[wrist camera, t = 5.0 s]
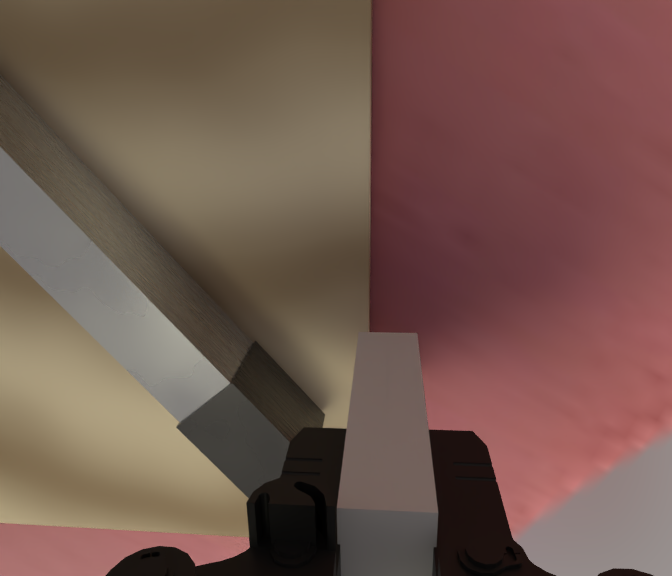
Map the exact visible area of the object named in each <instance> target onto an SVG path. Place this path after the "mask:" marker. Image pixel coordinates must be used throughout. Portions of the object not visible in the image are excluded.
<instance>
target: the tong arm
mask: <svg viewBox="0 0 672 576" xmlns="http://www.w3.org/2000/svg"><path fill="white" fill-rule="evenodd" d="M0 246H1V247H2V248H3V249H4V250H5V251H6V252H7V253H8V254H9V255H10V256H11V257H12V258H13V259H14V260H15V261H16V262H17V263H18V264H19V265H20V266H21V267H22V268H23V269H24V270H25V271H26V272H27V273H28V274H29V275H30V276H31V277H32V278H33V279H34V280H35V281H36V282H37V283H38V284H39V285H40V286H41V287H42V288H43V289H44V290H45V291H46V292H47V293H48V294H50V295H51V296H52V297H53V298H54V299H55V300H56V301H57V302H58V303H59V304H60V305H61V306H62V307H63V308H64V309H65V310H66V311H67V312H68V313H69V314H70V315H71V316H72V317H73V318H74V319H75V320H76V321H77V322H78V323H79V324H80V325H81V326H82V327H83V328H84V329H85V330H86V331H87V332H88V333H89V334H90V335H91V336H92V337H93V338H94V339H95V340H96V341H97V342H98V343H99V344H100V345H101V346H102V347H103V348H104V349H105V350H106V351H107V352H108V353H109V354H111V355H112V356H113V357H114V358H115V359H116V360H117V361H118V362H119V363H120V364H121V365H122V366H123V367H124V368H125V369H126V370H127V371H128V372H129V373H130V374H131V375H132V376H133V377H134V378H135V379H136V380H137V381H138V382H139V383H140V384H141V385H142V386H143V387H144V388H145V389H146V390H147V391H148V392H149V393H150V394H151V395H152V396H153V397H154V398H155V399H156V400H157V401H158V402H159V403H160V404H161V405H162V406H163V407H164V408H165V409H166V410H167V411H168V412H169V413H170V414H172V415H173V416H174V417H175V418H176V419H177V420H178V421H179V423H178V425H177V427H176V428H177V429H178V430H179V431H180V432H181V433H182V434H183V435H184V436H185V437H186V438H187V439H188V440H189V441H191V442H192V443H193V444H194V445H195V446H196V447H197V448H198V449H199V450H200V451H201V452H202V453H203V454H204V455H205V456H206V457H207V458H208V459H209V460H210V461H211V462H212V463H213V464H214V465H215V466H216V467H217V468H218V469H219V470H220V471H221V472H222V473H223V474H224V475H225V476H226V477H227V478H228V479H229V480H230V481H231V482H232V483H233V484H234V485H235V486H236V487H237V488H238V489H240V490H241V491H242V492H243V493H244V494H245V495H246V496H247V497H248V498H250V496H251V494H252V493H253V491H255V490H256V489H258V488H259V487H260V486H262V485H263V484H264V483H266V482H269V481H272V480H275V479H278V478H280V476H281V475H282V468H283V465H284V461H285V460H286V454H287V451H288V447H289V444H290V441H291V440H292V439H293V438H294V437H295V436H296V435H297V434H298V433H299V432H300V431H301V430H302V429H303V428H304V427H313V428H323V423H324V418H325V414H324V413H323V411H322V410H321V409H320V408H319V407H318V406H317V405H316V404H315V403H314V402H313V401H312V400H311V399H310V398H309V397H308V396H307V394H306V393H305V392H304V391H303V390H302V389H301V388H300V387H299V386H298V385H297V384H296V383H295V382H294V381H293V380H292V379H291V378H290V376H289V375H288V374H287V373H286V372H285V371H284V370H283V369H282V368H281V367H280V366H279V365H278V364H277V363H276V362H275V361H274V359H273V358H272V357H271V356H270V355H269V354H268V353H267V352H266V351H265V350H264V349H263V348H262V347H261V346H260V345H259V344H258V342H257V341H254V342H252V341H251V340H250V339H249V338H248V337H247V336H246V334H245V333H244V332H243V331H242V330H241V329H240V328H239V327H238V326H237V325H236V324H235V323H234V322H233V321H232V320H231V319H230V317H229V316H228V315H227V314H226V313H225V312H224V311H223V310H222V309H221V308H220V307H219V306H218V305H217V304H216V303H215V302H214V301H213V299H212V298H211V297H210V296H209V295H208V294H207V293H206V292H205V291H204V290H203V289H202V288H201V287H200V286H199V285H198V284H197V283H196V281H195V280H194V279H193V278H192V277H191V276H190V275H189V274H188V273H187V272H186V271H185V270H184V269H183V268H182V267H181V266H180V265H179V263H178V262H177V261H176V260H175V259H174V258H173V257H172V256H171V255H170V254H169V253H168V252H167V251H166V250H165V249H164V248H163V246H162V245H161V244H160V243H159V242H158V241H157V240H156V239H155V238H154V237H153V236H152V235H151V234H150V233H149V232H148V231H147V230H146V228H145V227H144V226H143V225H142V224H141V223H140V222H139V221H138V220H137V219H136V218H135V217H134V216H133V215H132V214H131V213H130V212H129V210H128V209H127V208H126V207H125V206H124V205H123V204H122V203H121V202H120V201H119V200H118V199H117V198H116V197H115V196H114V195H113V193H112V192H111V191H110V190H109V189H108V188H107V187H106V186H105V185H104V184H103V183H102V182H101V181H100V180H99V179H98V178H97V177H96V175H95V174H94V173H93V172H92V171H91V170H90V169H89V168H88V167H87V166H86V165H85V164H84V163H83V162H82V161H81V160H80V159H79V157H78V156H77V155H76V154H75V153H74V152H73V151H72V150H71V149H70V148H69V147H68V146H67V145H66V144H65V143H64V142H63V141H62V139H61V138H60V137H59V136H58V135H57V134H56V133H55V132H54V131H53V130H52V129H51V128H50V127H49V126H48V125H47V124H46V122H45V121H44V120H43V119H42V118H41V117H40V116H39V115H38V114H37V113H36V112H35V111H34V110H33V109H32V108H31V107H30V106H29V104H28V103H27V102H26V101H25V100H24V99H23V98H22V97H21V96H20V95H19V94H18V93H17V92H16V91H15V90H14V89H13V88H12V86H11V85H10V84H9V83H8V82H7V81H6V80H5V79H4V78H3V77H2V76H1V75H0Z"/></svg>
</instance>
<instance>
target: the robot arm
mask: <svg viewBox="0 0 672 576" xmlns="http://www.w3.org/2000/svg"><path fill="white" fill-rule="evenodd" d="M246 505H247V517H248V529H249V541H250V548H249V549H248V550H246V551H245V552H243V553H241V554H239V555H237V556H235V557H233V558H229V559H226V560H223V561H219V562H214V563H209V564H205V565H200V566H195V563H194V562H193V561H192V559H191V558H190V556H189V555H188V554H187V553H185V552H183V551H181V550H179V549H177V548H175V547H164V546H157V547H152V548H147V549H142V550H140V551H138V552H136V553H134V554H132V555H130V556H128V557H126V558H124V559H123V560H122V561H121V562H119V563H118V564H117V565H116V566H115V567H114V568H112V569H111V570H110V571H109V572H108V574H107V575H106V576H556V575H553V574H551V573H548V572H546V571H544V570H542V569H541V568H539V567H537V566H536V565H534V564H533V563H532V562H531V561H530V560H529V559H528V557H527V555H526V554H525V552H524V550H523V548H522V547H521V546H520V545H519V544H517V543H516V542H515V541H514V540H513V538H512V535H511V531H510V528H509V524H508V521H507V517H506V513H505V510H504V506H503V502H502V499H501V495H500V491H499V488H498V484H497V482H496V477H495V473H494V470H493V467H492V462H491V459H490V455H489V452H488V448H487V446H486V445H485V444H484V443H483V441H482V440H481V439H480V438H479V437H478V436H477V435H476V434H475V433H474V432H473V431H453V430H429V429H428V421H427V412H426V404H425V395H424V386H423V378H422V369H421V361H420V352H419V344H418V335H417V333H388V332H359V333H358V341H357V349H356V357H355V365H354V373H353V381H352V389H351V397H350V405H349V413H348V422H347V429H343V428H313V427H304V428H303V429H302V430H301V431H300V432H299V433H298V434H297V435H296V436H295V437H294V438H293V439H292V440H291V441H290V444H289V447H288V451H287V454H286V460H285V461H284V465H283V468H282V475H281V476H280V478H278V479H275V480H272V481H269V482H266V483H264V484H263V485H262V486H260V487H259V488H258V489H256V490H255V491H253V493H252V494H251V496H250V498H249V499H248V501H247V502H246ZM598 576H653V575H651V574H647V573H644V572H640V571H637V570H634V569H611V570H608V571H605V572H603V573H600V574H599V575H598Z"/></svg>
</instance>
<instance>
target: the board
mask: <svg viewBox="0 0 672 576" xmlns="http://www.w3.org/2000/svg"><path fill="white" fill-rule="evenodd" d="M0 75H1V76H2V77H3V78H4V79H5V80H6V81H7V82H8V83H9V84H10V85H11V86H12V88H13V89H14V90H15V91H16V92H17V93H18V94H19V95H20V96H21V97H22V98H23V99H24V100H25V101H26V102H27V103H28V104H29V106H30V107H31V108H32V109H33V110H34V111H35V112H36V113H37V114H38V115H39V116H40V117H41V118H42V119H43V120H44V121H45V122H46V124H47V125H48V126H49V127H50V128H51V129H52V130H53V131H54V132H55V133H56V134H57V135H58V136H59V137H60V138H61V139H62V141H63V142H64V143H65V144H66V145H67V146H68V147H69V148H70V149H71V150H72V151H73V152H74V153H75V154H76V155H77V156H78V157H79V159H80V160H81V161H82V162H83V163H84V164H85V165H86V166H87V167H88V168H89V169H90V170H91V171H92V172H93V173H94V174H95V175H96V177H97V178H98V179H99V180H100V181H101V182H102V183H103V184H104V185H105V186H106V187H107V188H108V189H109V190H110V191H111V192H112V193H113V195H114V196H115V197H116V198H117V199H118V200H119V201H120V202H121V203H122V204H123V205H124V206H125V207H126V208H127V209H128V210H129V212H130V213H131V214H132V215H133V216H134V217H135V218H136V219H137V220H138V221H139V222H140V223H141V224H142V225H143V226H144V227H145V228H146V230H147V231H148V232H149V233H150V234H151V235H152V236H153V237H154V238H155V239H156V240H157V241H158V242H159V243H160V244H161V245H162V246H163V248H164V249H165V250H166V251H167V252H168V253H169V254H170V255H171V256H172V257H173V258H174V259H175V260H176V261H177V262H178V263H179V265H180V266H181V267H182V268H183V269H184V270H185V271H186V272H187V273H188V274H189V275H190V276H191V277H192V278H193V279H194V280H195V281H196V283H197V284H198V285H199V286H200V287H201V288H202V289H203V290H204V291H205V292H206V293H207V294H208V295H209V296H210V297H211V298H212V299H213V301H214V302H215V303H216V304H217V305H218V306H219V307H220V308H221V309H222V310H223V311H224V312H225V313H226V314H227V315H228V316H229V317H230V319H231V320H232V321H233V322H234V323H235V324H236V325H237V326H238V327H239V328H240V329H241V330H242V331H243V332H244V333H245V334H246V336H247V337H248V338H249V339H250V340H251V341H252V342H254V341H257V342H258V344H259V345H260V346H261V347H262V348H263V349H264V350H265V351H266V352H267V353H268V354H269V355H270V356H271V357H272V358H273V359H274V361H275V362H276V363H277V364H278V365H279V366H280V367H281V368H282V369H283V370H284V371H285V372H286V373H287V374H288V375H289V376H290V378H291V379H292V380H293V381H294V382H295V383H296V384H297V385H298V386H299V387H300V388H301V389H302V390H303V391H304V392H305V393H306V394H307V396H308V397H309V398H310V399H311V400H312V401H313V402H314V403H315V404H316V405H317V406H318V407H319V408H320V409H321V410H322V411H323V413H324V414H325V418H324V423H323V428H343V429H347V422H348V413H349V405H350V397H351V389H352V381H353V373H354V365H355V357H356V349H357V341H358V333H359V332H370V226H371V107H372V0H0ZM178 423H179V421H178V420H177V419H176V418H175V417H174V416H173V415H172V414H170V413H169V412H168V411H167V410H166V409H165V408H164V407H163V406H162V405H161V404H160V403H159V402H158V401H157V400H156V399H155V398H154V397H153V396H152V395H151V394H150V393H149V392H148V391H147V390H146V389H145V388H144V387H143V386H142V385H141V384H140V383H139V382H138V381H137V380H136V379H135V378H134V377H133V376H132V375H131V374H130V373H129V372H128V371H127V370H126V369H125V368H124V367H123V366H122V365H121V364H120V363H119V362H118V361H117V360H116V359H115V358H114V357H113V356H112V355H111V354H109V353H108V352H107V351H106V350H105V349H104V348H103V347H102V346H101V345H100V344H99V343H98V342H97V341H96V340H95V339H94V338H93V337H92V336H91V335H90V334H89V333H88V332H87V331H86V330H85V329H84V328H83V327H82V326H81V325H80V324H79V323H78V322H77V321H76V320H75V319H74V318H73V317H72V316H71V315H70V314H69V313H68V312H67V311H66V310H65V309H64V308H63V307H62V306H61V305H60V304H59V303H58V302H57V301H56V300H55V299H54V298H53V297H52V296H51V295H50V294H48V293H47V292H46V291H45V290H44V289H43V288H42V287H41V286H40V285H39V284H38V283H37V282H36V281H35V280H34V279H33V278H32V277H31V276H30V275H29V274H28V273H27V272H26V271H25V270H24V269H23V268H22V267H21V266H20V265H19V264H18V263H17V262H16V261H15V260H14V259H13V258H12V257H11V256H10V255H9V254H8V253H7V252H6V251H5V250H4V249H3V248H2V247H1V246H0V523H12V524H29V525H46V526H64V527H81V528H98V529H116V530H133V531H150V532H167V533H185V534H202V535H219V536H237V537H249V529H248V517H247V505H246V502H247V501H248V499H249V498H248V497H247V496H246V495H245V494H244V493H243V492H242V491H241V490H240V489H238V488H237V487H236V486H235V485H234V484H233V483H232V482H231V481H230V480H229V479H228V478H227V477H226V476H225V475H224V474H223V473H222V472H221V471H220V470H219V469H218V468H217V467H216V466H215V465H214V464H213V463H212V462H211V461H210V460H209V459H208V458H207V457H206V456H205V455H204V454H203V453H202V452H201V451H200V450H199V449H198V448H197V447H196V446H195V445H194V444H193V443H192V442H191V441H189V440H188V439H187V438H186V437H185V436H184V435H183V434H182V433H181V432H180V431H179V430H178V429H177V428H176V427H177V425H178Z"/></svg>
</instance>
